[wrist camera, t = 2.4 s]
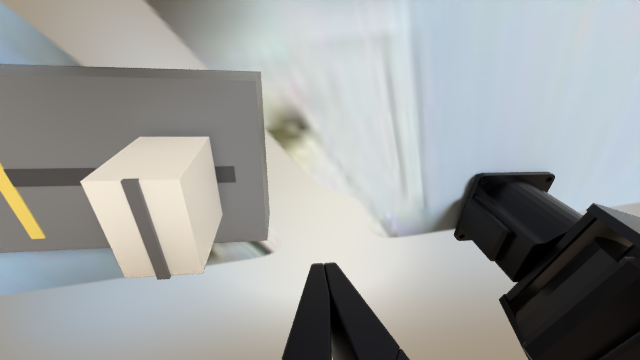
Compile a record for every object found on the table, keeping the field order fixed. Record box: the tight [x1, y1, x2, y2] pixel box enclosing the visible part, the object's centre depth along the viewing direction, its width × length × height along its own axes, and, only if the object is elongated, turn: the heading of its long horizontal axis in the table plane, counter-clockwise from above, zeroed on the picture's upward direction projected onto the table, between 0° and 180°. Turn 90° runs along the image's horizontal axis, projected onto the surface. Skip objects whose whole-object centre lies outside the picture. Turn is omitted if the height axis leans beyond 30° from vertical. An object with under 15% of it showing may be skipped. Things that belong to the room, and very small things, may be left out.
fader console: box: [0, 64, 269, 253], centre depth 15 cm, size 18×10×3 cm, turn 87°
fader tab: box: [80, 137, 223, 280], centre depth 12 cm, size 3×5×4 cm, turn 177°
